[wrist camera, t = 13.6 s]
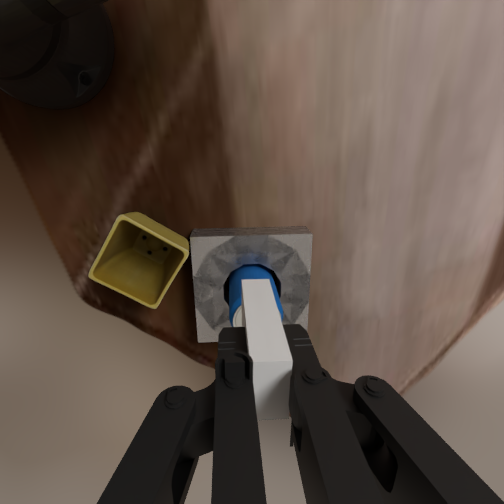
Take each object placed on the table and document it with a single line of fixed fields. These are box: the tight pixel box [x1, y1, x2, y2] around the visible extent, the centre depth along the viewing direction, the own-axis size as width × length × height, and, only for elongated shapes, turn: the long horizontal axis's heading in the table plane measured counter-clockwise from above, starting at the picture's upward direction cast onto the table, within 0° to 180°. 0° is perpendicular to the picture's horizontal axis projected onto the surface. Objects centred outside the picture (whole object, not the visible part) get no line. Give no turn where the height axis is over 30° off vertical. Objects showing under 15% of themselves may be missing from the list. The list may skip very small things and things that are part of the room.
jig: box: [190, 226, 313, 343], centre depth 46 cm, size 16×16×4 cm
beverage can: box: [229, 264, 283, 327], centre depth 42 cm, size 6×6×12 cm
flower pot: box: [88, 212, 189, 309], centre depth 41 cm, size 9×9×9 cm
